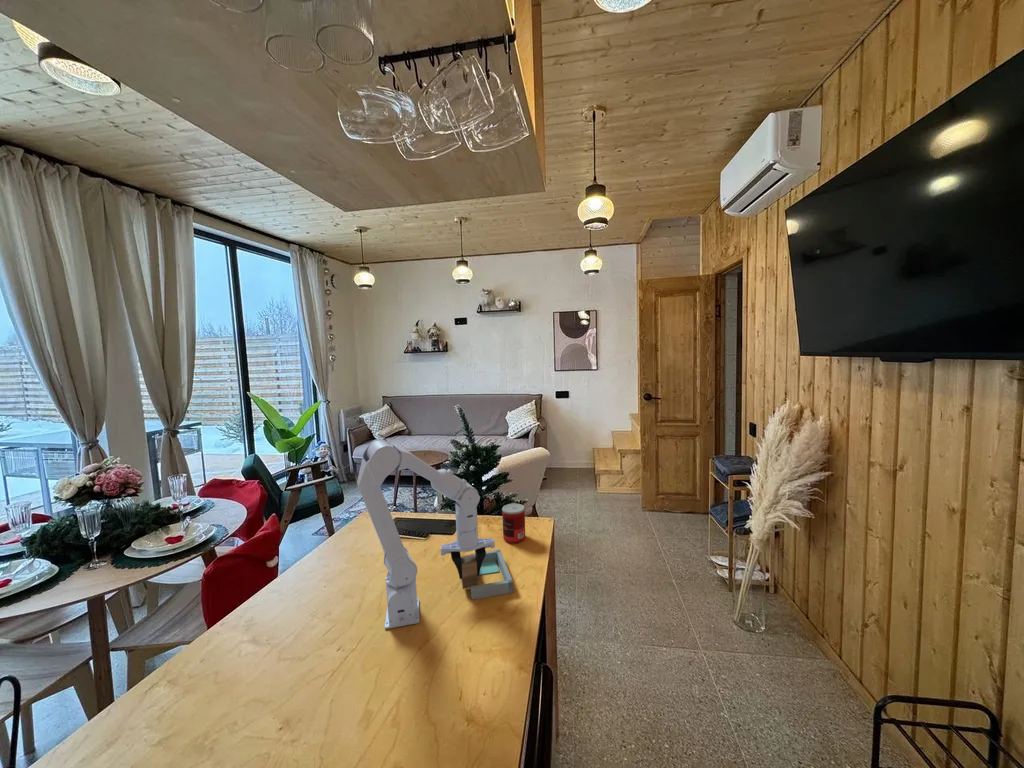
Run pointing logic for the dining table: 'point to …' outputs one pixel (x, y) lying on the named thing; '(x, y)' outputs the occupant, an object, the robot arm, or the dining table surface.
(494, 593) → the grey open rectangular frame
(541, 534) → the dining table surface
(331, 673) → the dining table surface
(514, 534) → the canned food
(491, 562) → the pad
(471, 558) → the block
